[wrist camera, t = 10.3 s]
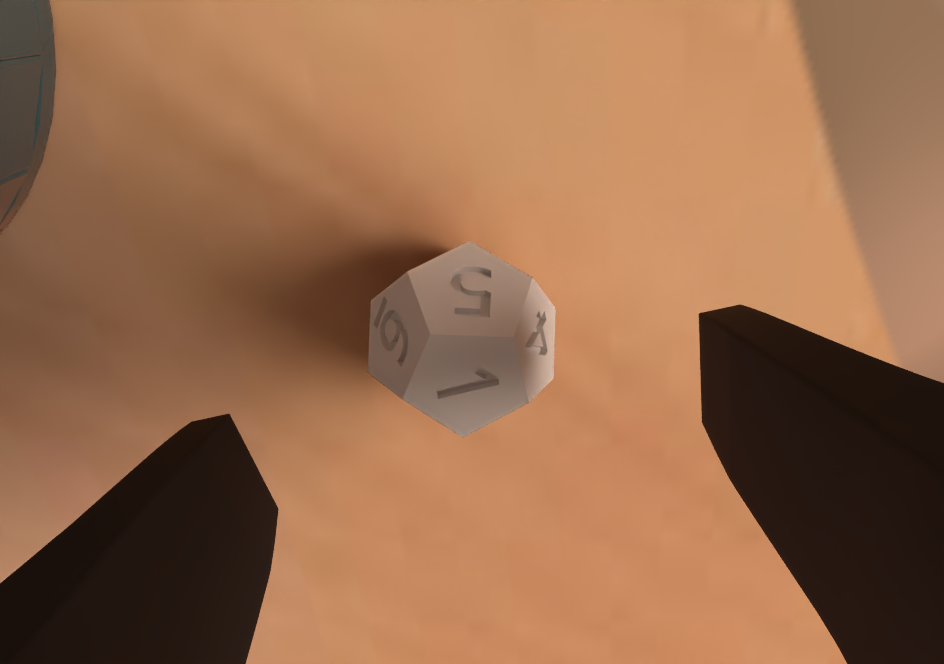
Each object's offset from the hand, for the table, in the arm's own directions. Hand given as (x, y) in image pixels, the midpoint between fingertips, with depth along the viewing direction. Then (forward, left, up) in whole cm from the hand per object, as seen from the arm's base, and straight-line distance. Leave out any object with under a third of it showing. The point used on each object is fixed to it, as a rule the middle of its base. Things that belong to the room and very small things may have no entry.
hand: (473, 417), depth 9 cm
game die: (0, 0, -4) cm, 4 cm away
